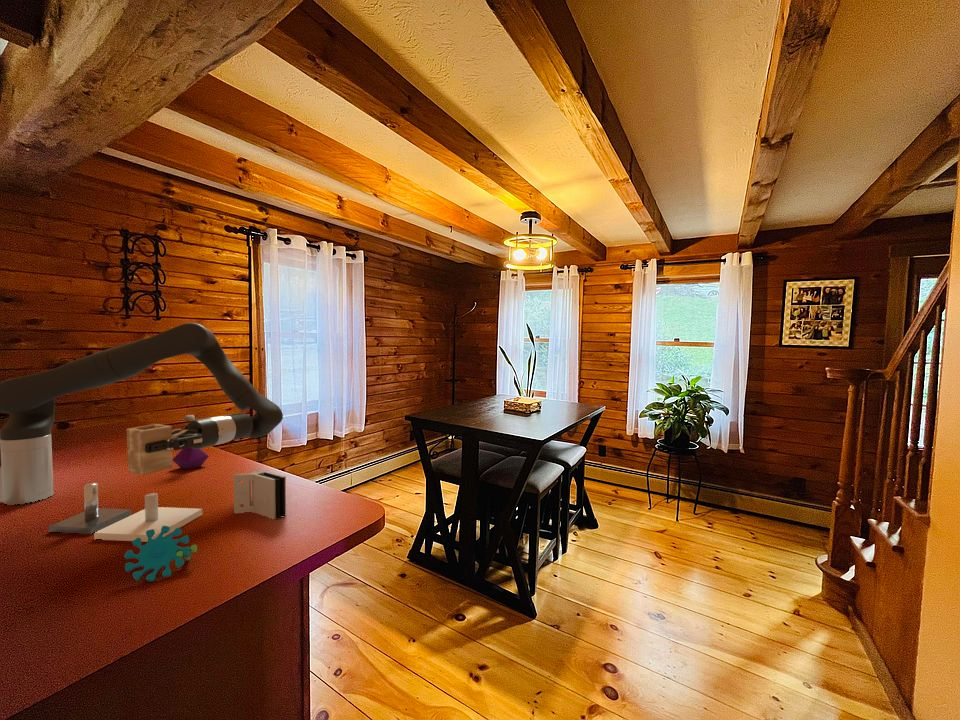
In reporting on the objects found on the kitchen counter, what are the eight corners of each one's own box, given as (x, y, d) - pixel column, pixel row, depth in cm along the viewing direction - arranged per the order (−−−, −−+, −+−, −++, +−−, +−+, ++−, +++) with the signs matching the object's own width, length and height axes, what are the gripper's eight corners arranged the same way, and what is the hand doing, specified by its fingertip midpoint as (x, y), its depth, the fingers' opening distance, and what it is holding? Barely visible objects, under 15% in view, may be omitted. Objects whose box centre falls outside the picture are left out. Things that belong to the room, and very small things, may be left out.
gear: (114, 582, 72) (133, 525, 78) (119, 592, 75) (138, 537, 82) (189, 576, 76) (202, 523, 83) (191, 586, 80) (203, 534, 87)
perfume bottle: (209, 465, 142) (208, 414, 141) (187, 471, 135) (186, 418, 134) (193, 462, 144) (192, 412, 143) (171, 469, 137) (170, 416, 136)
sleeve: (128, 471, 94) (126, 428, 93) (157, 464, 99) (156, 423, 99) (143, 475, 92) (142, 431, 91) (172, 467, 97) (171, 426, 97)
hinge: (233, 513, 104) (232, 474, 103) (250, 505, 109) (249, 468, 109) (277, 520, 100) (277, 480, 100) (293, 512, 105) (293, 473, 105)
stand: (49, 532, 92) (47, 491, 92) (93, 513, 102) (92, 476, 102) (90, 534, 92) (89, 493, 91) (131, 515, 102) (130, 477, 101)
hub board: (94, 539, 90) (93, 506, 89) (149, 512, 104) (148, 483, 103) (154, 542, 89) (154, 508, 88) (202, 514, 103) (201, 485, 102)
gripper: (193, 415, 111) (119, 427, 96) (229, 420, 105) (156, 433, 90) (194, 442, 111) (120, 459, 96) (229, 448, 106) (157, 467, 90)
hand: (137, 446), depth 93 cm, fingers closed on sleeve, 6 cm apart
